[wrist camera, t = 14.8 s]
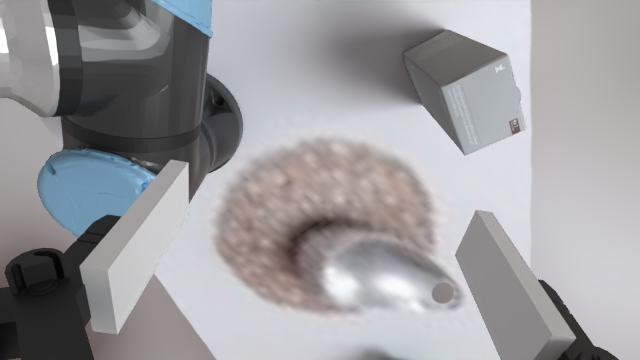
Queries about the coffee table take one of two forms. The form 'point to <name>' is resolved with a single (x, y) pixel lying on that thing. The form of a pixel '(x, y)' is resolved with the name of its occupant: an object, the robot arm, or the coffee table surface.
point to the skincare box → (466, 89)
